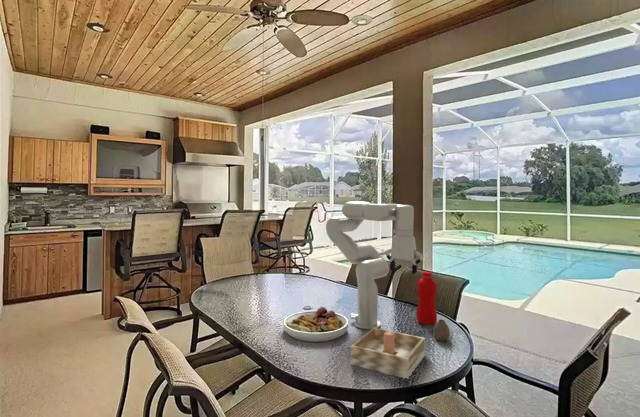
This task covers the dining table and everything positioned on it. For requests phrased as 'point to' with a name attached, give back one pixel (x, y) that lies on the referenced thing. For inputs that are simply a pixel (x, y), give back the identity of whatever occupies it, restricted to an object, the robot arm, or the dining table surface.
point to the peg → (389, 343)
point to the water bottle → (426, 299)
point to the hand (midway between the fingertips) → (403, 272)
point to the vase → (441, 331)
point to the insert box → (373, 357)
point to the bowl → (316, 325)
